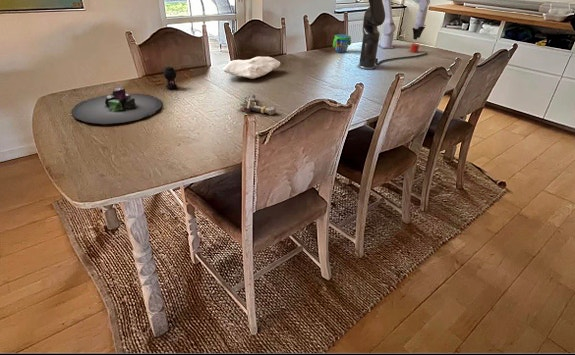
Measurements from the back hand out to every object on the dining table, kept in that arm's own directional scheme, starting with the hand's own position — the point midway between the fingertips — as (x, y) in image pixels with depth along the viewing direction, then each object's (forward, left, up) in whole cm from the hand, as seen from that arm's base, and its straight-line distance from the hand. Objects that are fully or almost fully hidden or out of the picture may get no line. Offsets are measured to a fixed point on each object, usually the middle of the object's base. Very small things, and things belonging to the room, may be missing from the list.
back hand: (416, 38), depth 252 cm
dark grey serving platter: (+88, -180, -9) cm, 201 cm away
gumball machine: (+64, -160, -9) cm, 173 cm away
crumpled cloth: (+46, -120, -9) cm, 129 cm away
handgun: (+93, -122, -9) cm, 153 cm away
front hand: (+8, -70, +29) cm, 76 cm away
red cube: (0, 0, -9) cm, 9 cm away
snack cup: (-2, -53, -9) cm, 54 cm away
